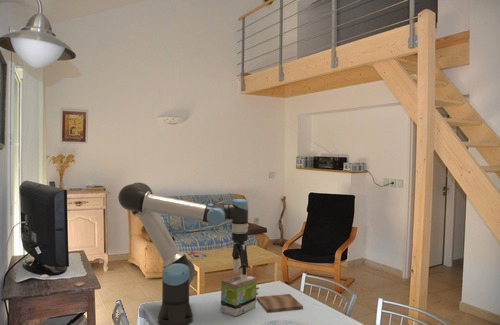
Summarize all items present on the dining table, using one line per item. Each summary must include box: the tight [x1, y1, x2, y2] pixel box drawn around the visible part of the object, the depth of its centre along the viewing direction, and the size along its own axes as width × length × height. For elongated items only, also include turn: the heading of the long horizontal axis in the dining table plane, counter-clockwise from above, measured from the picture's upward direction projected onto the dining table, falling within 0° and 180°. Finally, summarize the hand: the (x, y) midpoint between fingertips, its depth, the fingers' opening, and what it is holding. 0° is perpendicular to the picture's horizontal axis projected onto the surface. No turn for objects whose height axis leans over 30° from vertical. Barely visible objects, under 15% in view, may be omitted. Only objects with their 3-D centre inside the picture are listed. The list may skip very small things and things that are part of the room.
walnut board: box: [256, 293, 304, 314], centre depth 197 cm, size 18×17×2 cm
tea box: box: [220, 273, 257, 317], centre depth 190 cm, size 15×10×15 cm, turn 143°
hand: (239, 276), depth 189 cm, fingers open, 13 cm apart
